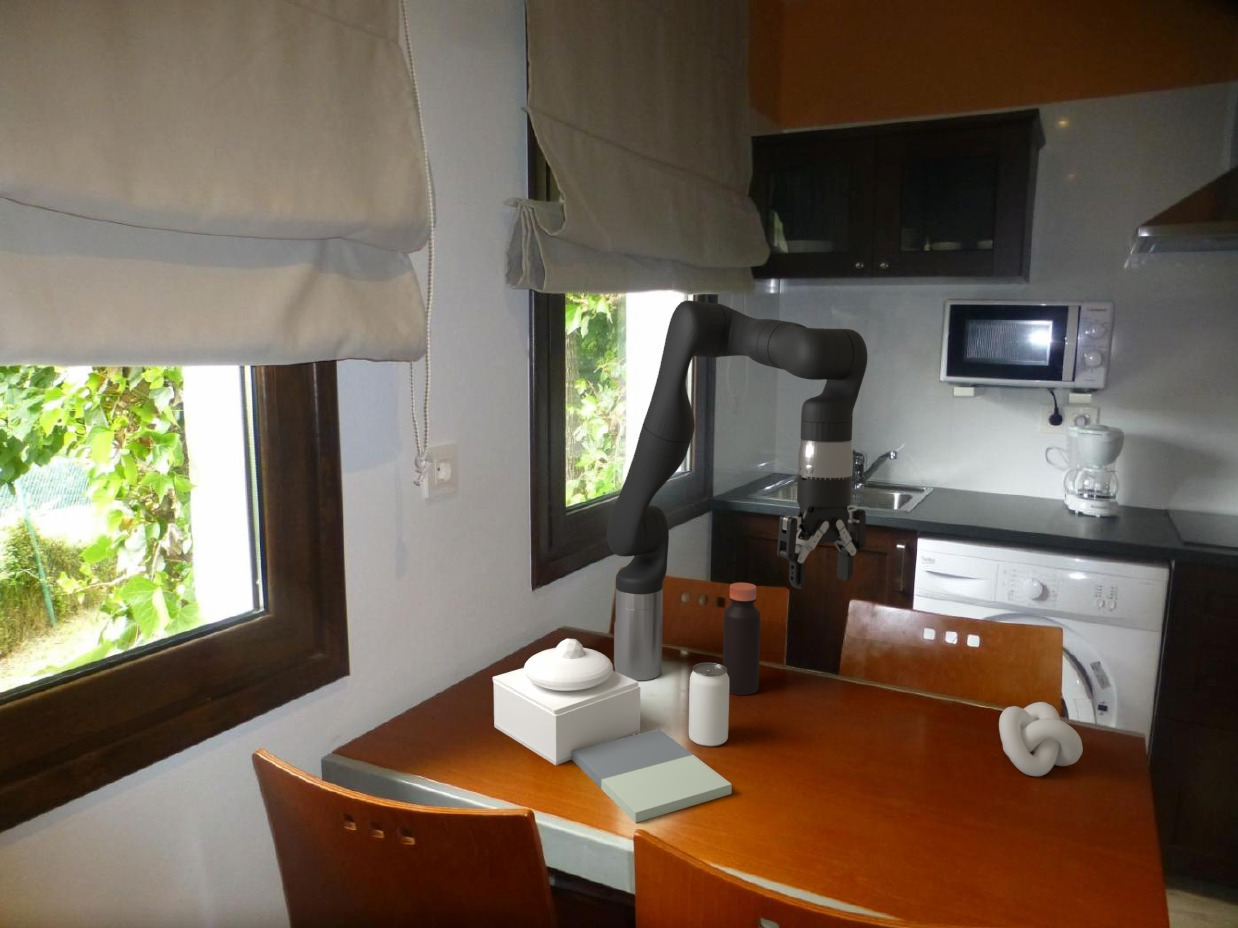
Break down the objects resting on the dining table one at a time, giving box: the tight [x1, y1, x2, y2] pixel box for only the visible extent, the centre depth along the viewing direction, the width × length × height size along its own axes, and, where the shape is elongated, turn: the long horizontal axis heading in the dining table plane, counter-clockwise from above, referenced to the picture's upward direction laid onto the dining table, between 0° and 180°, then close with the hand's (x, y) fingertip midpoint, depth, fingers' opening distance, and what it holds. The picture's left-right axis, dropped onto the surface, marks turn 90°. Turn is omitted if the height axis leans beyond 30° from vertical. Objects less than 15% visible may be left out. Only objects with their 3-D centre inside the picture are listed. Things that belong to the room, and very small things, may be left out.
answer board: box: [571, 728, 733, 824], centre depth 127 cm, size 20×16×2 cm
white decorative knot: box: [998, 701, 1084, 777], centre depth 131 cm, size 11×12×9 cm
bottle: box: [722, 582, 762, 696], centre depth 159 cm, size 7×7×20 cm
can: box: [688, 662, 730, 748], centre depth 139 cm, size 6×6×12 cm
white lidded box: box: [492, 638, 641, 766], centre depth 142 cm, size 18×18×16 cm
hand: (821, 583), depth 122 cm, fingers open, 8 cm apart
